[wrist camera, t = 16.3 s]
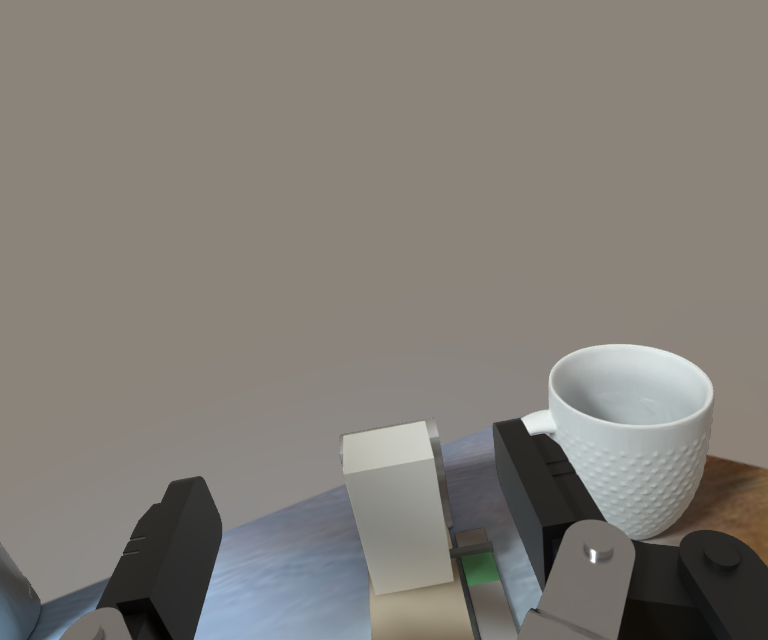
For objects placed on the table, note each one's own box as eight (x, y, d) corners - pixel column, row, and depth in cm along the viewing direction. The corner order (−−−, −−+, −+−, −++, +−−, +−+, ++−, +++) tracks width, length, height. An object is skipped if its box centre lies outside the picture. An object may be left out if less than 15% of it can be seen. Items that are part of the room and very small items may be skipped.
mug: (522, 576, 38) (512, 442, 32) (497, 474, 48) (486, 358, 42) (727, 559, 36) (753, 416, 31) (658, 457, 46) (668, 335, 41)
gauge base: (524, 658, 33) (516, 553, 28) (368, 686, 33) (337, 586, 28) (474, 500, 45) (463, 411, 41) (362, 520, 45) (339, 434, 41)
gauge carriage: (499, 573, 37) (487, 448, 32) (375, 595, 37) (342, 474, 32) (486, 530, 41) (472, 412, 36) (372, 551, 41) (343, 435, 36)
